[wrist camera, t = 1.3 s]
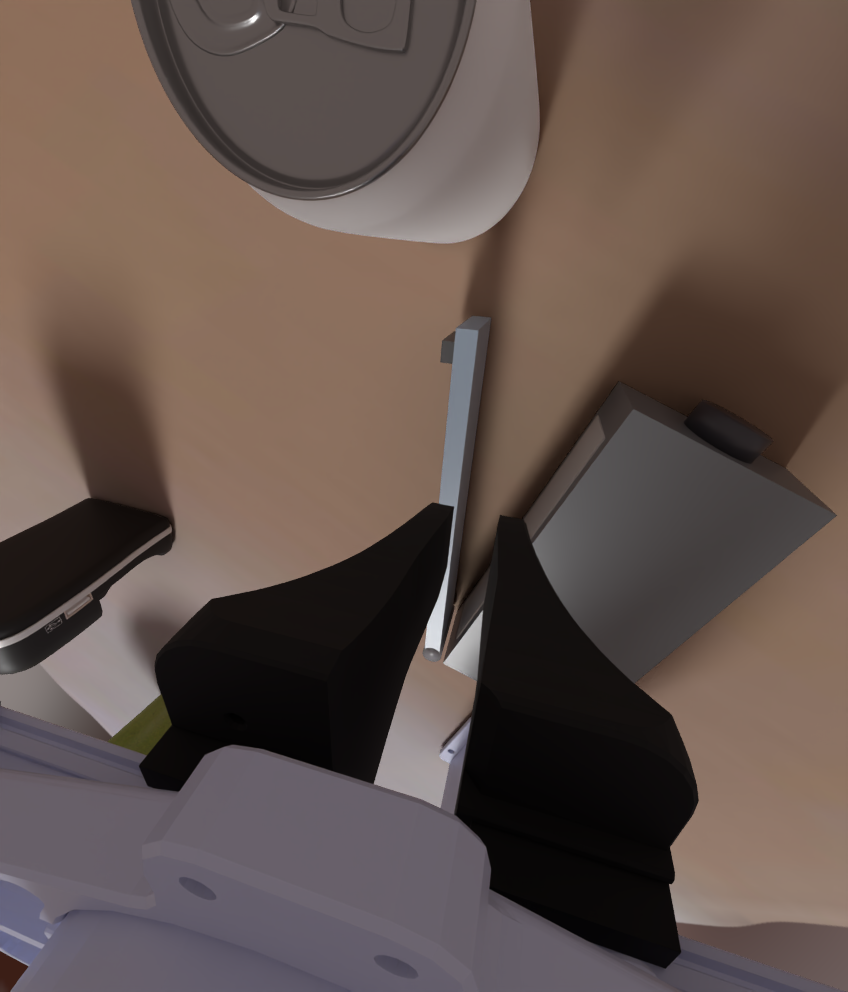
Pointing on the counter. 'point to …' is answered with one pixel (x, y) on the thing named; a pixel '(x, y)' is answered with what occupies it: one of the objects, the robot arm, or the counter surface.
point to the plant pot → (144, 728)
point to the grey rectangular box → (655, 528)
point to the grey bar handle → (458, 457)
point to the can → (359, 105)
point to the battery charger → (68, 575)
